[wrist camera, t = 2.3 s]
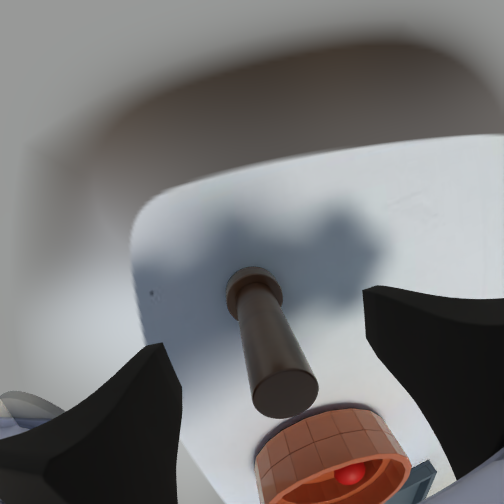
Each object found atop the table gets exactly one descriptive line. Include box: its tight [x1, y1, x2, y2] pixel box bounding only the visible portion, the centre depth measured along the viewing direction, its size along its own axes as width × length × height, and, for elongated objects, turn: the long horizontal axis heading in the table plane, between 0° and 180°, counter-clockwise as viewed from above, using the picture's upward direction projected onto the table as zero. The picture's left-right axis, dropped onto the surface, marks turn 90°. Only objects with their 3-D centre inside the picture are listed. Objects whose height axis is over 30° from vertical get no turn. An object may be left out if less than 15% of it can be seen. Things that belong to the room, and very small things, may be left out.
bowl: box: [254, 408, 412, 504], centre depth 16 cm, size 10×10×5 cm
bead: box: [334, 462, 365, 485], centre depth 18 cm, size 2×2×2 cm
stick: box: [226, 267, 319, 419], centre depth 11 cm, size 3×3×8 cm
